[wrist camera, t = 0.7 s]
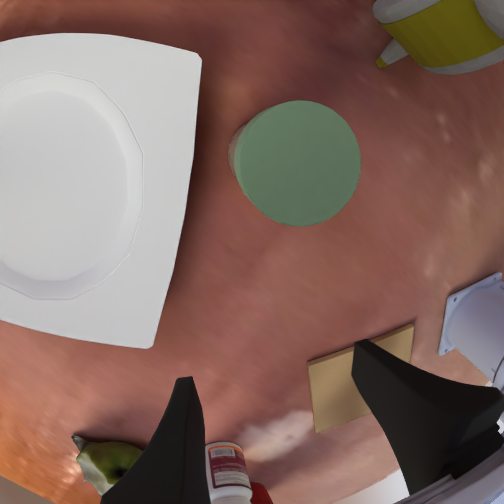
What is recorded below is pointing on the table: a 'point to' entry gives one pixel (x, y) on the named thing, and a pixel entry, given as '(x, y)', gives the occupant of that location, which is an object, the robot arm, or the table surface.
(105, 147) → the plate
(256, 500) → the plastic cup
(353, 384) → the plate
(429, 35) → the alarm clock
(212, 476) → the pill bottle
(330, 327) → the table surface
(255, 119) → the jar lid
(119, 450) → the fruit
